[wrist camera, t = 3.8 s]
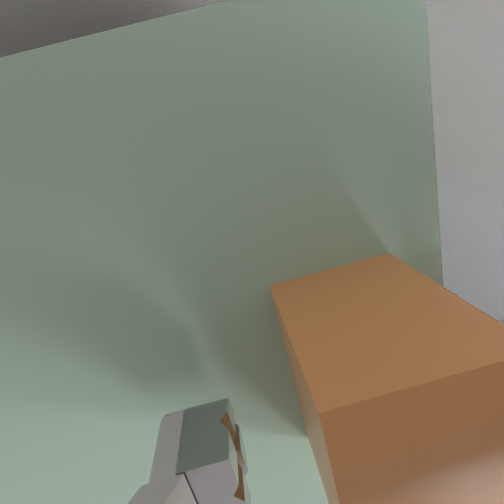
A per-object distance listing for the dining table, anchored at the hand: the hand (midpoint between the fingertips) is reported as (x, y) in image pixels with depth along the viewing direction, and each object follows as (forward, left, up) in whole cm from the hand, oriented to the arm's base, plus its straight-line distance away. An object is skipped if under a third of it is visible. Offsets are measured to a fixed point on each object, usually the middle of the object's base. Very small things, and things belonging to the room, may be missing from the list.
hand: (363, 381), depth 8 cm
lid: (+9, 0, -2) cm, 9 cm away
